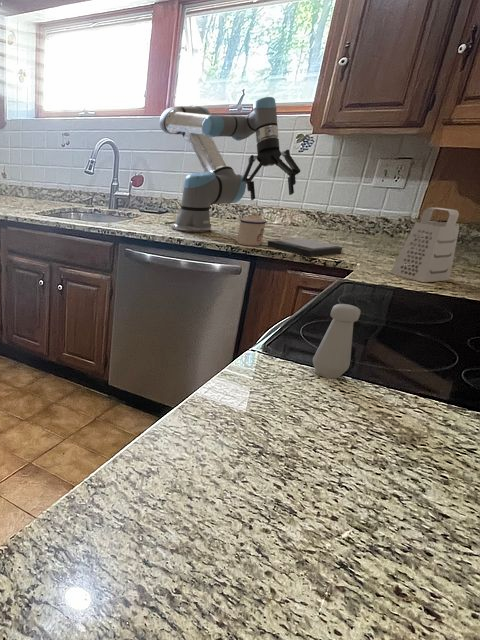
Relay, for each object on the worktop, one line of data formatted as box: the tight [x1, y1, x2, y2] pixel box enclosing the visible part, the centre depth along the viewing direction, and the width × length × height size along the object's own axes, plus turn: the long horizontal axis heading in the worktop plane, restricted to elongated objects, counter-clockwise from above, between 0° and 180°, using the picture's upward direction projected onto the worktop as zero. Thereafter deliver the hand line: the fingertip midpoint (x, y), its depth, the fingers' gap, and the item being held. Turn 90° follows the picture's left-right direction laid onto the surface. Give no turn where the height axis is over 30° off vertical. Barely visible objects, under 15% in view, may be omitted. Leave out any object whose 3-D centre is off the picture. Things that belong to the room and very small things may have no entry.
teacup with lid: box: [236, 211, 267, 247], centre depth 200 cm, size 12×9×12 cm
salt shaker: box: [312, 303, 361, 380], centre depth 93 cm, size 6×6×13 cm
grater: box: [389, 206, 460, 283], centre depth 155 cm, size 10×10×20 cm
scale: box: [267, 237, 343, 258], centre depth 192 cm, size 18×16×2 cm
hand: (272, 196), depth 199 cm, fingers open, 13 cm apart
